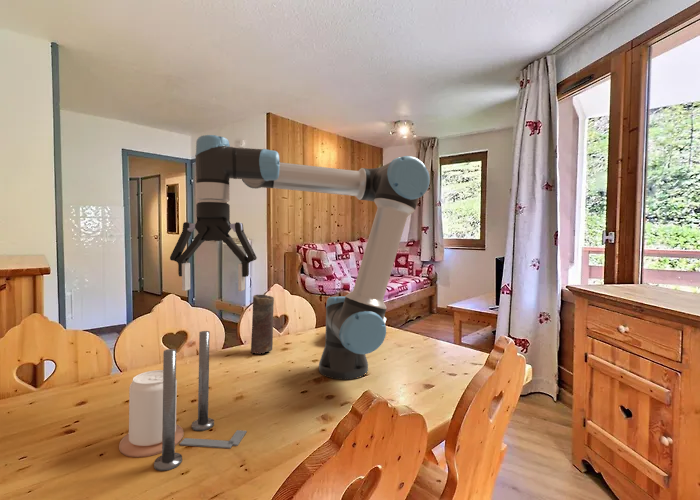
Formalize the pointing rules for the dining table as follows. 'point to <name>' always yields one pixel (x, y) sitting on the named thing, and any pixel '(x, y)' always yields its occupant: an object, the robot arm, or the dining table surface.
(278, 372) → the dining table surface
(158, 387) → the beverage can
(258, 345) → the candle
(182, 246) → the robot arm
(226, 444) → the strip
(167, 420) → the gate posts
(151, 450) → the pad
